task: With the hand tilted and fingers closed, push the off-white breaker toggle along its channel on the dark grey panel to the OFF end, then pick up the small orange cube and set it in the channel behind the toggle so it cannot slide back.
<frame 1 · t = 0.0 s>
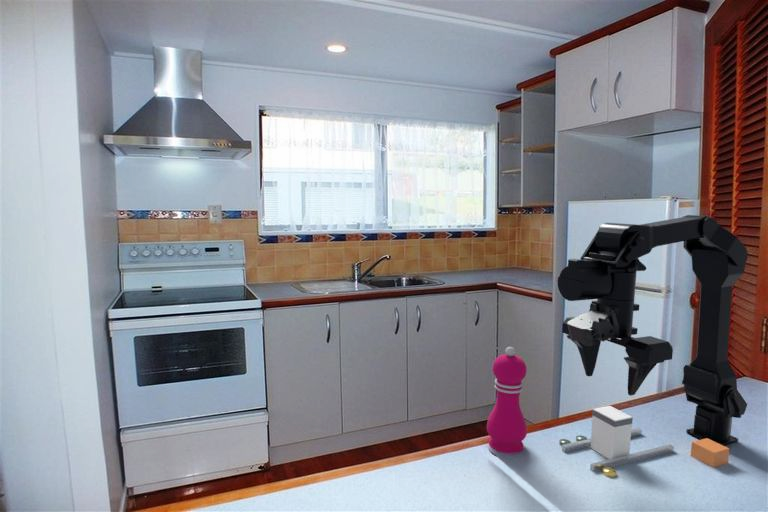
hand: (609, 385, 86), 15 cm above the counter, tool pointing down, fingers open, 9 cm apart
panel: (617, 457, 90), on the counter
breaker: (610, 432, 89), point 5 cm above the counter, slide at 0.0 cm
pepper mill: (505, 452, 92), on the counter
orange cube: (708, 466, 87), on the counter
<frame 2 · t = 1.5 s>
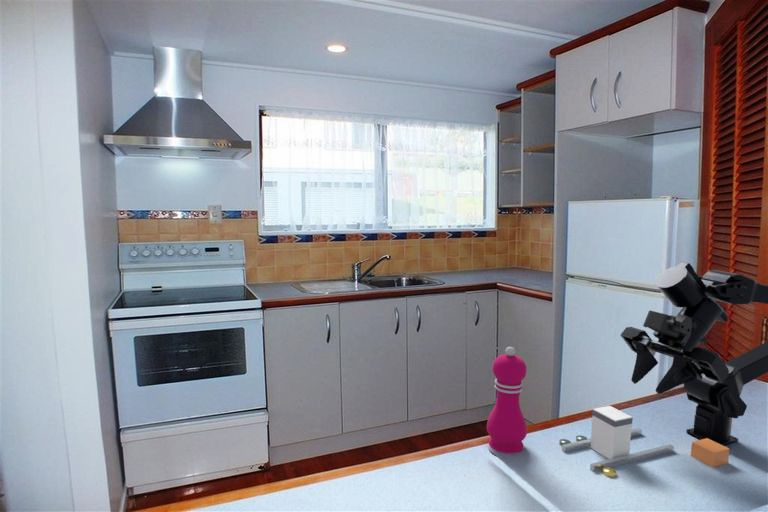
hand: (644, 387, 91), 13 cm above the counter, tool tilted 45°, fingers open, 5 cm apart
nothing on the counter moved.
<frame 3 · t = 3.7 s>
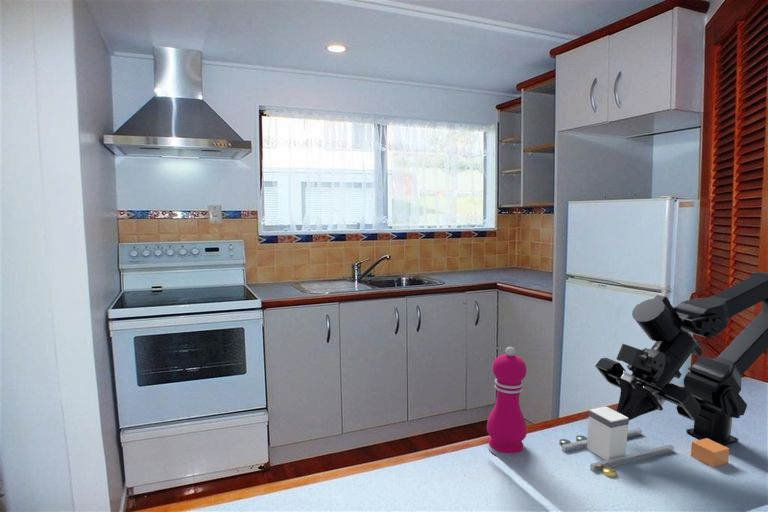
hand: (617, 422, 89), 7 cm above the counter, tool tilted 45°, fingers closed, pressing on breaker
breaker: (607, 433, 88), point 5 cm above the counter, slide at 0.9 cm, touching gripper
everything else where it was.
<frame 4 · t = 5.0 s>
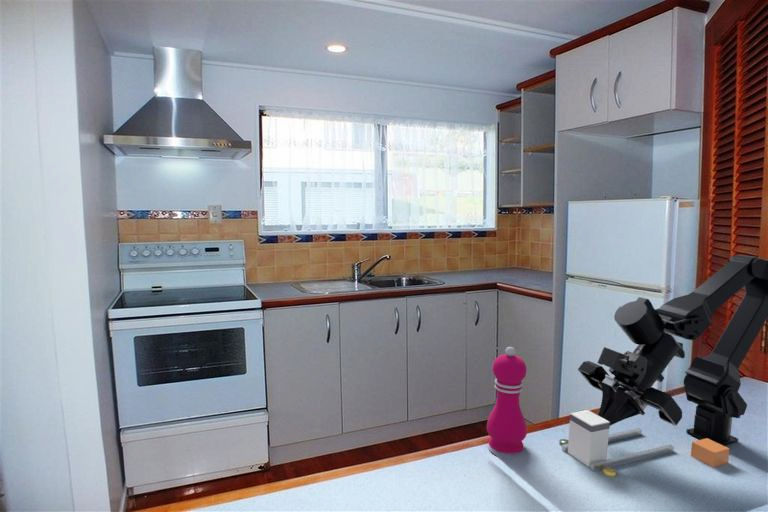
hand: (598, 427, 87), 7 cm above the counter, tool tilted 45°, fingers closed, pressing on breaker
breaker: (588, 437, 87), point 5 cm above the counter, slide at 5.3 cm, touching gripper
everything else where it was.
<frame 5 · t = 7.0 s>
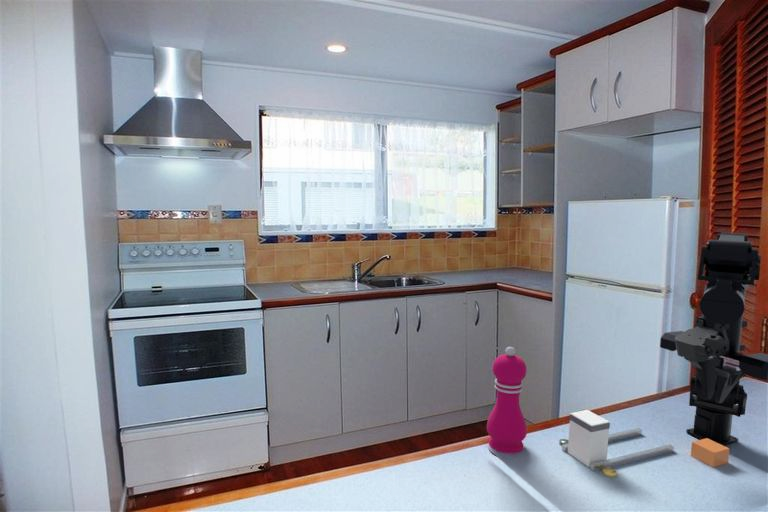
hand: (713, 400, 86), 12 cm above the counter, tool pointing down, fingers closed
breaker: (588, 437, 87), point 5 cm above the counter, slide at 5.3 cm
everything else where it was.
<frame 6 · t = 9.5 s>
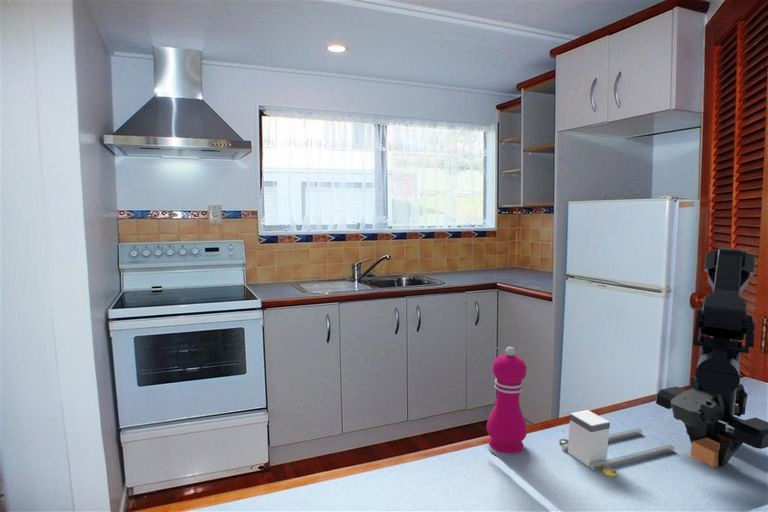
hand: (709, 460, 87), 1 cm above the counter, tool pointing down, fingers closed on orange cube, 4 cm apart
orange cube: (708, 465, 87), on the counter, touching gripper
everything else where it was.
when the fingers open (3 cm above the counter, at t = 13.0 s): orange cube drops 1 cm, resting on panel.
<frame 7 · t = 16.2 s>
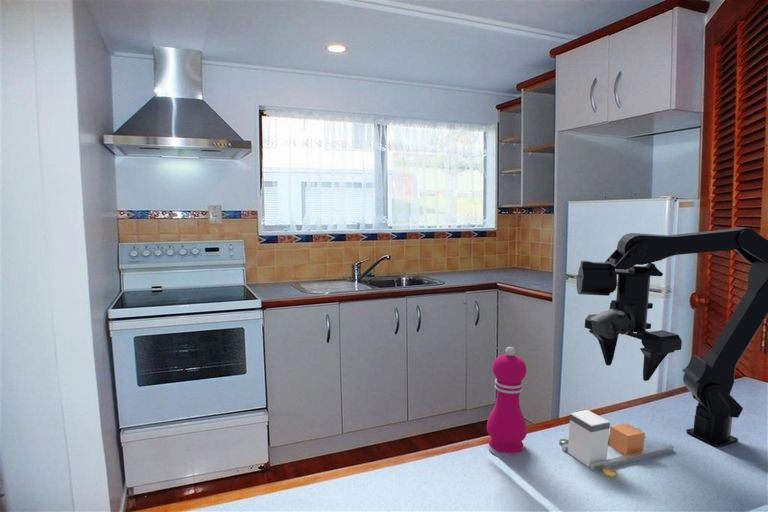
hand: (626, 372, 100), 12 cm above the counter, tool pointing down, fingers open, 9 cm apart
orange cube: (625, 450, 91), point 1 cm above the counter, touching panel
everything else where it was.
at the end: breaker slide at 5.3 cm; orange cube inside the target area (0.2 cm from its centre), point 1.0 cm above the counter; the gripper is holding nothing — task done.
